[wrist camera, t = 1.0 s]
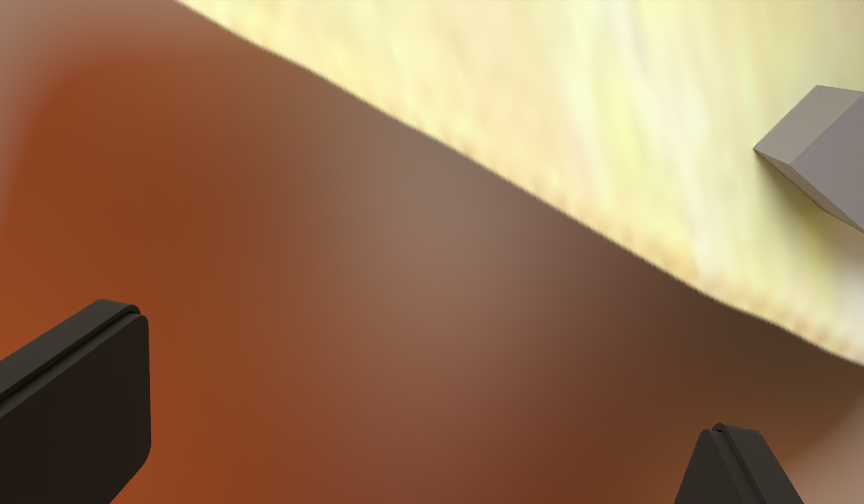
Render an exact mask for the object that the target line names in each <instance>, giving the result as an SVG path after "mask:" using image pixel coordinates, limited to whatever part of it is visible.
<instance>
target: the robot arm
mask: <svg viewBox="0 0 864 504" xmlns="http://www.w3.org/2000/svg"><path fill="white" fill-rule="evenodd" d="M148 330H149V328H148V320H147V318H146V317H145V316H143V315H141V313H140V311H139V308H138V307H137V306H135V305H131V304H127V303H122V302H117V301H111V300H106V299H100V300H97V301H95V302H94V303H92V304H91V305H89V306H87V307H86V308H84V309H82V310H81V311H79V312H78V313H76V314H75V315H73V316H71V317H70V318H68V319H66V320H65V321H63V322H62V323H60V324H58V325H57V326H55V327H54V328H52V329H51V330H49V331H47V332H46V333H44V334H43V335H41V336H39V337H38V338H36V339H35V340H33V341H31V342H30V343H28V344H27V345H25V346H24V347H22V348H20V349H19V350H17V351H16V352H14V353H12V354H11V355H9V356H7V357H6V358H4V359H3V360H1V361H0V504H110V503H111V501H112V500H113V499H114V498H115V497H116V496H117V495H118V493H119V492H120V491H121V490H122V489H123V488H124V487H125V485H126V484H127V483H128V482H129V481H130V479H132V477H133V476H134V475H135V474H136V473H137V472H138V470H139V469H140V468H141V467H142V466H143V464H144V463H145V461H146V459H147V458H148V455H149V452H150V448H151V414H150V371H149V331H148ZM674 504H804V503H803V501H802V500H801V498H800V496H799V495H798V493H797V492H796V490H795V488H794V487H793V485H792V483H791V482H790V480H789V479H788V477H787V475H786V474H785V472H784V470H783V469H782V467H781V466H780V464H779V462H778V461H777V459H776V457H775V456H774V454H773V453H772V451H771V449H770V448H769V446H768V444H767V443H766V441H765V440H764V438H763V437H762V435H761V434H760V433H759V431H756V430H753V429H748V428H744V427H739V426H734V425H728V424H724V423H718V424H716V425H715V426H714V427H713V428H712V430H708V429H705V430H703V431H702V432H701V433H700V436H699V438H698V440H697V443H696V446H695V449H694V451H693V454H692V457H691V459H690V462H689V465H688V467H687V470H686V473H685V475H684V478H683V481H682V484H681V486H680V489H679V491H678V494H677V497H676V500H675V502H674Z"/></svg>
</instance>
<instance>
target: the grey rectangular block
mask: <svg viewBox="0 0 864 504" xmlns="http://www.w3.org/2000/svg"><path fill="white" fill-rule="evenodd" d="M753 149H754V150H755V151H756V152H758V153H759V154H760V155H761V156H762V157H763V158H764V159H766V160H767V161H768V162H769V163H770V164H771V165H773V166H774V167H775V168H776V169H777V170H778V171H779V172H781V173H782V174H783V175H784V176H785V177H786V178H788V179H789V180H790V181H791V182H792V183H793V184H794V185H796V186H797V187H798V188H799V189H800V190H801V191H803V192H804V193H805V194H806V195H807V196H808V197H809V198H811V199H812V200H813V201H814V202H815V203H816V204H818V205H819V206H820V207H821V208H822V209H823V210H824V211H826V212H827V213H829V214H831V215H832V216H834V217H836V218H838V219H840V220H841V221H843V222H845V223H847V224H849V225H850V226H852V227H854V228H856V229H858V230H860V231H861V232H863V233H864V92H860V91H853V90H846V89H839V88H833V87H826V86H819V85H816V86H815V87H814V88H813V89H812V90H811V91H810V92H809V93H808V94H807V95H806V96H805V97H804V98H803V99H802V100H801V101H800V102H799V103H798V104H797V105H796V106H795V107H794V108H793V109H792V110H791V111H790V112H789V113H788V114H787V115H786V116H785V117H784V118H783V119H782V120H781V121H780V122H779V123H778V124H777V125H776V126H775V127H774V128H773V129H772V130H771V131H770V132H769V133H768V134H767V135H766V136H765V137H764V138H763V139H762V140H761V141H760V142H759V143H758V144H757V145H756V146H754V147H753Z"/></svg>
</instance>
